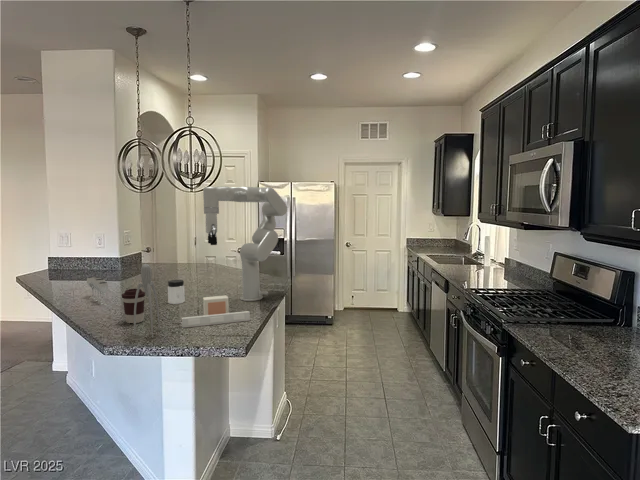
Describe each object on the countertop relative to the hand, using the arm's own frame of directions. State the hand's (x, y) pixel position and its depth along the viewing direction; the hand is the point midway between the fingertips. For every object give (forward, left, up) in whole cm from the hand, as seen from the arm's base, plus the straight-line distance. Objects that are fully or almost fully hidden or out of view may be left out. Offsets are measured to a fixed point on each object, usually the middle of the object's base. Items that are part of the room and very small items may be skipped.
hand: (212, 244), depth 225 cm
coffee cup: (+38, +13, -34) cm, 52 cm away
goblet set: (+59, -42, -34) cm, 80 cm away
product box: (+2, +22, -33) cm, 40 cm away
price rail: (+3, +31, -33) cm, 46 cm away
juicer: (+33, +36, -34) cm, 59 cm away
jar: (+18, -20, -34) cm, 43 cm away
